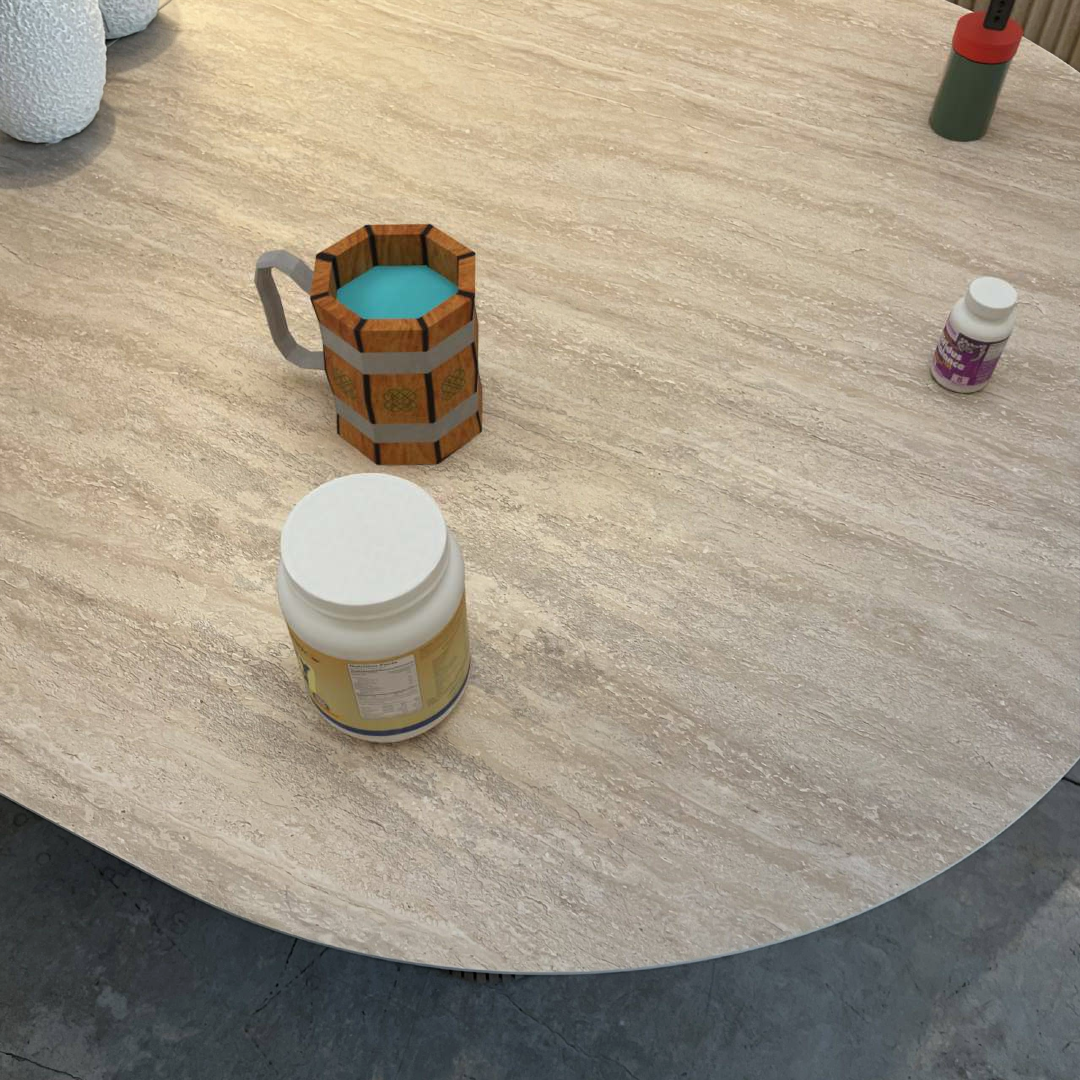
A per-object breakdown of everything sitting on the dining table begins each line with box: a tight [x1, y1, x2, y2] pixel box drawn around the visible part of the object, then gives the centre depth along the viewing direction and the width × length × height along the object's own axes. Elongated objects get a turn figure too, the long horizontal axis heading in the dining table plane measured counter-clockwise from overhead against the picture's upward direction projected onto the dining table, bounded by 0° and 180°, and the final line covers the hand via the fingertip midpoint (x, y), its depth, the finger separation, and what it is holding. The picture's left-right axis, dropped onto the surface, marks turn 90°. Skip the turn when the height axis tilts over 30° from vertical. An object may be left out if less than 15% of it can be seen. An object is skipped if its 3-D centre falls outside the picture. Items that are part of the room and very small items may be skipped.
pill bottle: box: [930, 276, 1019, 394], centre depth 100 cm, size 5×5×10 cm
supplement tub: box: [276, 472, 472, 743], centre depth 77 cm, size 12×12×17 cm
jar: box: [928, 45, 1014, 142], centre depth 123 cm, size 6×6×11 cm
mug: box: [253, 223, 483, 466], centre depth 95 cm, size 20×14×15 cm
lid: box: [951, 11, 1024, 63], centre depth 119 cm, size 7×7×2 cm
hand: (996, 7), depth 117 cm, fingers open, 8 cm apart
